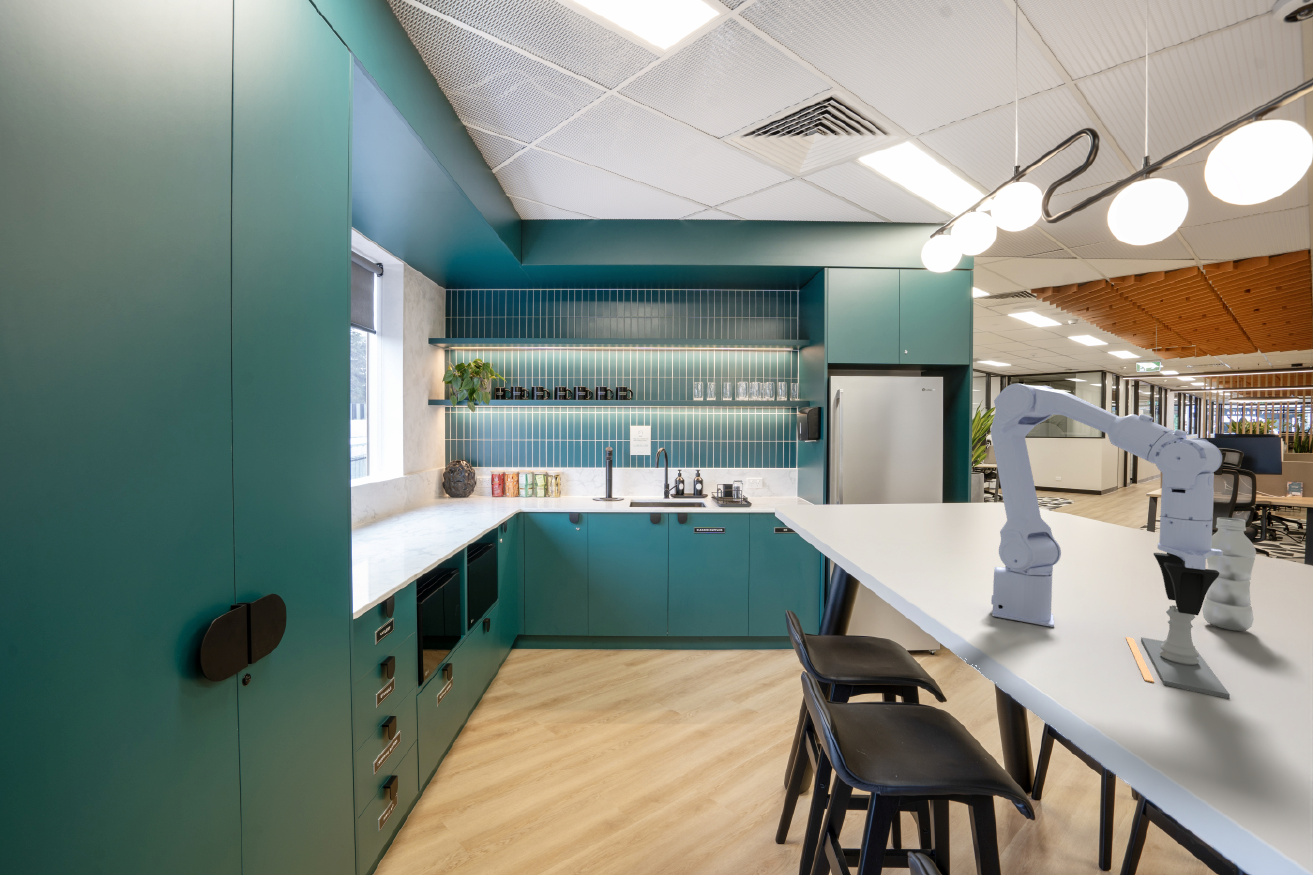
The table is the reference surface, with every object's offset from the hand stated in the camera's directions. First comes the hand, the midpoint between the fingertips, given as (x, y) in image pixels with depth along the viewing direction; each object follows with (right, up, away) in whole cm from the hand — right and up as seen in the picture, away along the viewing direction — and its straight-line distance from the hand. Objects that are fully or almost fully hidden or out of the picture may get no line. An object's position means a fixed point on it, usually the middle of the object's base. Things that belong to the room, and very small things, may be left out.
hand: (1182, 606), depth 84 cm
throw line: (-5, -9, +2) cm, 10 cm away
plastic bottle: (+24, -9, +16) cm, 30 cm away
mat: (-1, -9, -1) cm, 9 cm away
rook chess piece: (0, -8, 0) cm, 8 cm away
